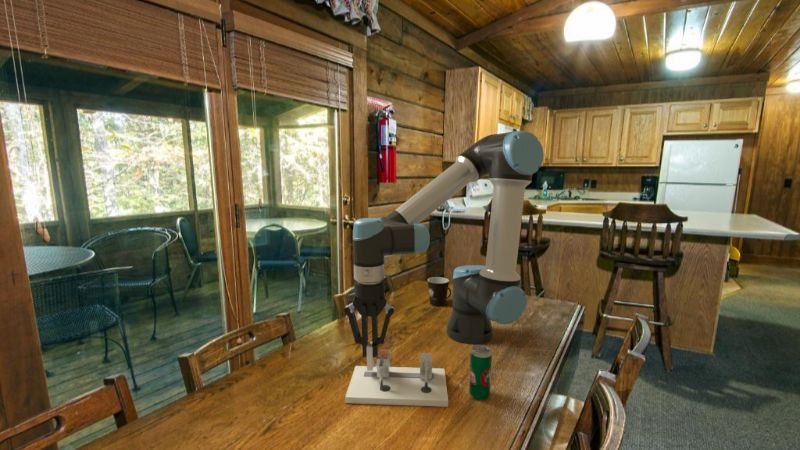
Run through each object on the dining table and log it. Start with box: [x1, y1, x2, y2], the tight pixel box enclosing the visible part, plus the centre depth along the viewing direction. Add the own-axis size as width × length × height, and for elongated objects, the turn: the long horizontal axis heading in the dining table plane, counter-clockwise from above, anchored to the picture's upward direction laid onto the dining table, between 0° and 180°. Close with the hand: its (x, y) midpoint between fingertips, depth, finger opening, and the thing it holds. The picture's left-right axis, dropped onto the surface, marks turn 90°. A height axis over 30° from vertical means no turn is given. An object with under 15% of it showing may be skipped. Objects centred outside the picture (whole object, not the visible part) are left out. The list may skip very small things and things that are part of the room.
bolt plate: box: [344, 365, 449, 408], centre depth 93 cm, size 24×14×2 cm, turn 87°
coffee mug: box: [427, 276, 452, 308], centre depth 149 cm, size 12×9×10 cm
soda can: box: [468, 344, 493, 401], centre depth 89 cm, size 5×5×12 cm
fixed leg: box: [419, 352, 433, 389], centre depth 93 cm, size 3×8×6 cm, turn 177°
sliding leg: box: [376, 348, 391, 387], centre depth 94 cm, size 3×8×6 cm, turn 177°
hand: (370, 367), depth 96 cm, fingers closed
